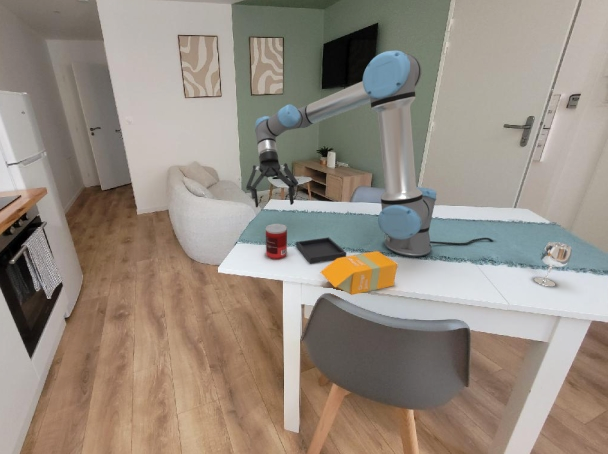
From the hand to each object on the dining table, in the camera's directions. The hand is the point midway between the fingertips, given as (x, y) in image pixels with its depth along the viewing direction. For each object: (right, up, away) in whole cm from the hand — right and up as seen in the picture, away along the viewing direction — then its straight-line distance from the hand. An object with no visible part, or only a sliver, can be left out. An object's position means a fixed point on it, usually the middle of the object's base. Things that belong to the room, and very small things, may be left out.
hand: (274, 205), depth 110 cm
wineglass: (+77, -25, -25) cm, 85 cm away
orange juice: (+32, -21, -21) cm, 44 cm away
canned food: (0, -19, -2) cm, 19 cm away
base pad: (+17, -18, -2) cm, 25 cm away
